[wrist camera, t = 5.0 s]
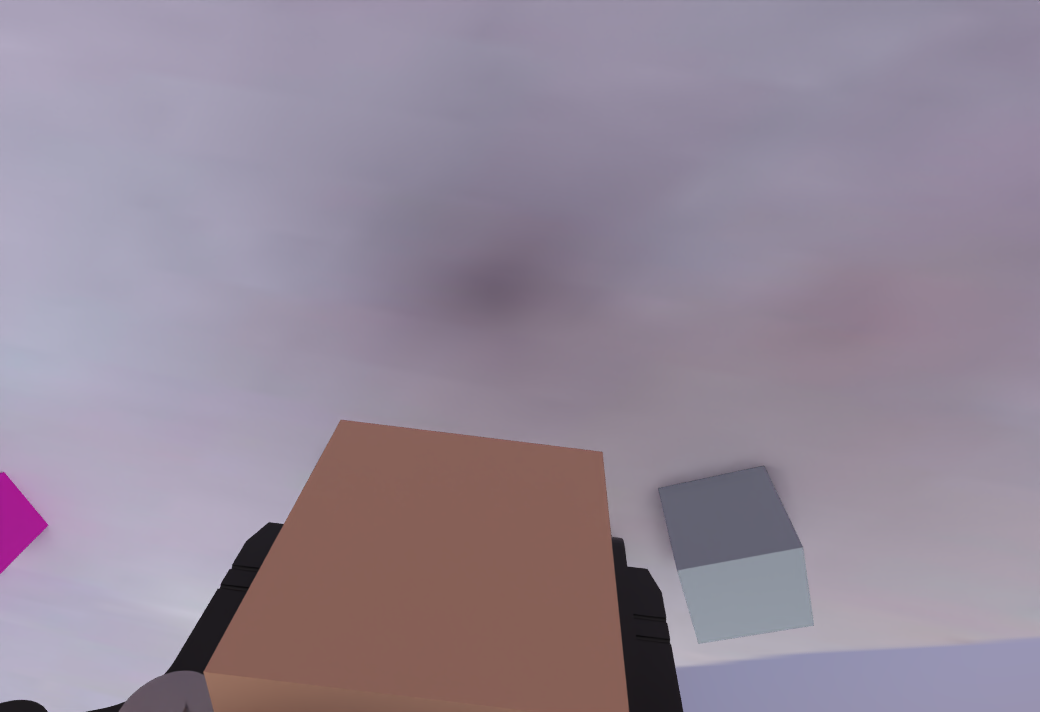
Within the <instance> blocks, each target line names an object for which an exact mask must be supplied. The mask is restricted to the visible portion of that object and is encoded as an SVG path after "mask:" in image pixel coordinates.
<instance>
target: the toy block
mask: <svg viewBox="0 0 1040 712" xmlns="http://www.w3.org/2000/svg"><path fill="white" fill-rule="evenodd" d="M47 526H48V524H47V523H46V522H45V521H44V519H43V518H42V517H41V516H40V515H39V513H38V512H37V511H36V510H35V509H34V507H33V506H32V505H31V504H30V503H29V501H28V500H27V499H26V498H25V497H24V495H23V494H22V493H21V492H20V491H19V489H18V488H17V487H16V486H15V485H14V483H13V482H12V481H11V480H10V479H9V477H8V476H7V475H6V474H5V473H4V472H3V473H0V574H1V573H2V572H3V571H4V570H5V569H6V568H7V567H8V566H9V565H10V564H11V563H12V562H13V560H14V559H15V558H16V557H17V556H18V555H19V554H20V553H21V552H22V551H23V550H24V549H25V548H26V547H27V546H28V545H29V544H30V543H31V542H32V541H33V540H34V539H35V538H36V537H37V536H38V535H39V534H40V533H41V532H42V531H43V530H44V529H45V528H46V527H47Z"/></svg>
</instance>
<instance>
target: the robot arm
mask: <svg viewBox="0 0 1040 712" xmlns="http://www.w3.org/2000/svg"><path fill="white" fill-rule="evenodd" d="M283 525H284V524H279V523H271V522H269V523H267V524H266V525H265V526H264V527H263V528H261V529H260V530H259V531H258V532H257V533H256V534H254V535H253V536H252V537H251V538H250V539H248V540H247V541H246V543H245V544H244V546H243V548H242V549H241V551H240V553H239V554H238V556H237V558H236V559H235V561H234V563H233V564H232V569H229V571H228V573H227V574H226V576H225V578H224V579H223V581H222V583H221V587H220V589H217V591H216V593H215V594H214V596H213V598H212V599H211V601H210V603H209V604H208V606H207V608H206V609H205V611H204V613H203V614H202V616H201V618H200V619H199V621H198V623H197V624H196V626H195V628H194V629H193V631H192V633H191V634H190V636H189V638H188V639H187V641H186V643H185V644H184V646H183V648H182V649H181V651H180V653H179V654H178V656H177V658H176V659H175V661H174V663H173V664H172V665H171V667H170V668H169V670H168V671H167V672H166V673H165V674H164V675H162V676H159V677H157V678H155V679H153V680H151V681H149V682H148V683H146V684H145V685H143V686H142V687H140V688H139V689H138V690H137V691H136V692H134V693H133V694H132V695H131V696H130V697H129V698H128V700H127V701H126V702H123V703H120V704H118V705H115V706H111V707H107V708H103V709H98V710H93V711H88V712H214V710H213V707H212V703H211V699H210V695H209V691H208V687H207V684H206V680H205V676H204V670H205V668H206V666H207V665H208V663H209V661H210V659H211V657H212V655H213V654H214V652H215V650H216V648H217V646H218V644H219V643H220V641H221V639H222V637H223V635H224V633H225V631H226V630H227V628H228V626H229V624H230V622H231V620H232V619H233V617H234V615H235V613H236V611H237V609H238V608H239V606H240V604H241V602H242V600H243V598H244V597H245V595H246V593H247V591H248V589H249V587H250V586H251V584H252V582H253V580H254V578H255V576H256V575H257V573H258V571H259V569H260V567H261V565H262V564H263V562H264V560H265V558H266V556H267V554H268V553H269V551H270V549H271V547H272V545H273V543H274V541H275V540H276V538H277V536H278V534H279V532H280V530H281V529H282V527H283ZM611 540H612V550H613V560H614V569H615V579H616V589H617V599H618V608H619V618H620V628H621V637H622V647H623V657H624V667H625V676H626V686H627V696H628V706H629V712H683V708H682V702H681V697H680V691H679V686H678V680H677V675H676V669H675V663H674V658H673V652H672V647H671V644H670V636H669V630H668V625H667V623H666V614H665V608H664V602H663V597H662V592H661V590H660V589H659V587H658V586H657V584H656V582H655V581H654V579H653V578H652V576H651V574H650V573H649V571H648V569H643V568H635V567H627V561H626V553H625V546H624V541H623V539H622V538H615V537H611ZM0 712H48V711H47V710H46V709H45V708H44V707H43V706H42V705H40V704H39V703H36V702H33V701H29V700H13V701H8V702H3V703H0Z"/></svg>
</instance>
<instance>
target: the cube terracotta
mask: <svg viewBox="0 0 1040 712" xmlns="http://www.w3.org/2000/svg"><path fill="white" fill-rule="evenodd" d="M204 676H205V680H206V684H207V687H208V691H209V695H210V699H211V703H212V707H213V710H214V712H629V706H628V696H627V686H626V676H625V667H624V657H623V647H622V637H621V628H620V618H619V608H618V599H617V589H616V579H615V569H614V560H613V550H612V540H611V530H610V521H609V511H608V501H607V492H606V482H605V472H604V462H603V453H602V452H600V451H592V450H583V449H575V448H567V447H559V446H551V445H543V444H534V443H526V442H518V441H510V440H502V439H494V438H485V437H477V436H469V435H461V434H453V433H445V432H436V431H428V430H420V429H412V428H404V427H396V426H387V425H379V424H371V423H363V422H355V421H347V420H340V422H339V424H338V426H337V428H336V429H335V431H334V433H333V435H332V437H331V439H330V440H329V442H328V444H327V446H326V448H325V450H324V451H323V453H322V455H321V457H320V459H319V461H318V462H317V464H316V466H315V468H314V470H313V472H312V474H311V475H310V477H309V479H308V481H307V483H306V485H305V486H304V488H303V490H302V492H301V494H300V496H299V497H298V499H297V501H296V503H295V505H294V507H293V508H292V510H291V512H290V514H289V516H288V518H287V519H286V521H285V523H284V525H283V527H282V529H281V530H280V532H279V534H278V536H277V538H276V540H275V541H274V543H273V545H272V547H271V549H270V551H269V553H268V554H267V556H266V558H265V560H264V562H263V564H262V565H261V567H260V569H259V571H258V573H257V575H256V576H255V578H254V580H253V582H252V584H251V586H250V587H249V589H248V591H247V593H246V595H245V597H244V598H243V600H242V602H241V604H240V606H239V608H238V609H237V611H236V613H235V615H234V617H233V619H232V620H231V622H230V624H229V626H228V628H227V630H226V631H225V633H224V635H223V637H222V639H221V641H220V643H219V644H218V646H217V648H216V650H215V652H214V654H213V655H212V657H211V659H210V661H209V663H208V665H207V666H206V668H205V670H204Z"/></svg>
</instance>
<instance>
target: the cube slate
mask: <svg viewBox="0 0 1040 712" xmlns="http://www.w3.org/2000/svg"><path fill="white" fill-rule="evenodd" d="M658 490H659V494H660V498H661V503H662V507H663V511H664V516H665V520H666V524H667V529H668V533H669V537H670V542H671V546H672V550H673V554H674V559H675V563H676V567H677V572H678V575H679V578H680V582H681V585H682V589H683V592H684V596H685V599H686V602H687V606H688V609H689V613H690V616H691V620H692V623H693V626H694V630H695V633H696V637H697V640H698V644H701V643H707V642H713V641H719V640H726V639H732V638H738V637H745V636H751V635H757V634H763V633H770V632H776V631H782V630H789V629H795V628H801V627H807V626H814V622H813V615H812V608H811V601H810V594H809V587H808V579H807V572H806V565H805V558H804V551H803V546H802V544H801V542H800V540H799V538H798V536H797V534H796V532H795V530H794V527H793V525H792V523H791V521H790V519H789V517H788V515H787V513H786V511H785V509H784V507H783V504H782V502H781V500H780V498H779V496H778V494H777V492H776V490H775V488H774V486H773V484H772V481H771V479H770V477H769V475H768V473H767V471H766V469H765V467H764V466H761V467H756V468H751V469H746V470H742V471H737V472H732V473H728V474H723V475H718V476H714V477H709V478H704V479H699V480H695V481H690V482H685V483H681V484H676V485H671V486H667V487H662V488H658Z"/></svg>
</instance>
